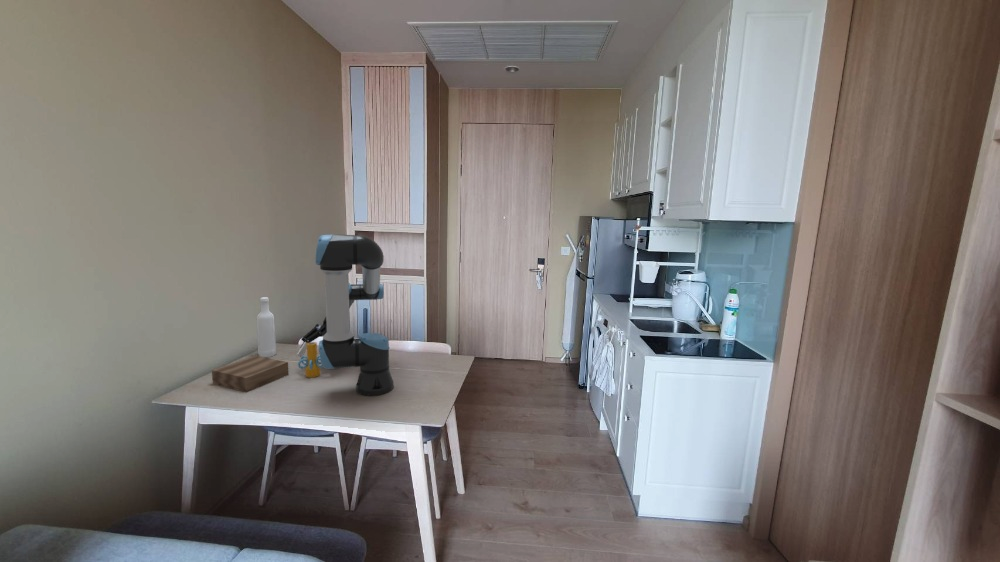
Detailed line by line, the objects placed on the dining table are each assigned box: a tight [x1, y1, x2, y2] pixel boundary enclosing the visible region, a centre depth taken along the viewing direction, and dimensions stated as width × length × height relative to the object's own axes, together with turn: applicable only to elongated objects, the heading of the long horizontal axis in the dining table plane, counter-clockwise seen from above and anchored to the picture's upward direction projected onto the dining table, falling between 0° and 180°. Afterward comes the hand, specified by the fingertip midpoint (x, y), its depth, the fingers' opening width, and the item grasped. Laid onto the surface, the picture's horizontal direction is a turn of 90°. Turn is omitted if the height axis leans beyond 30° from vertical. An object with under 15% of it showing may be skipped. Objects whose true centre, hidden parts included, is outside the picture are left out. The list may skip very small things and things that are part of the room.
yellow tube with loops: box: [297, 341, 323, 378], centre depth 177 cm, size 12×10×15 cm
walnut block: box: [211, 355, 290, 393], centre depth 171 cm, size 20×20×6 cm
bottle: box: [256, 296, 277, 358], centre depth 200 cm, size 8×8×30 cm
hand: (310, 358), depth 177 cm, fingers open, 13 cm apart
